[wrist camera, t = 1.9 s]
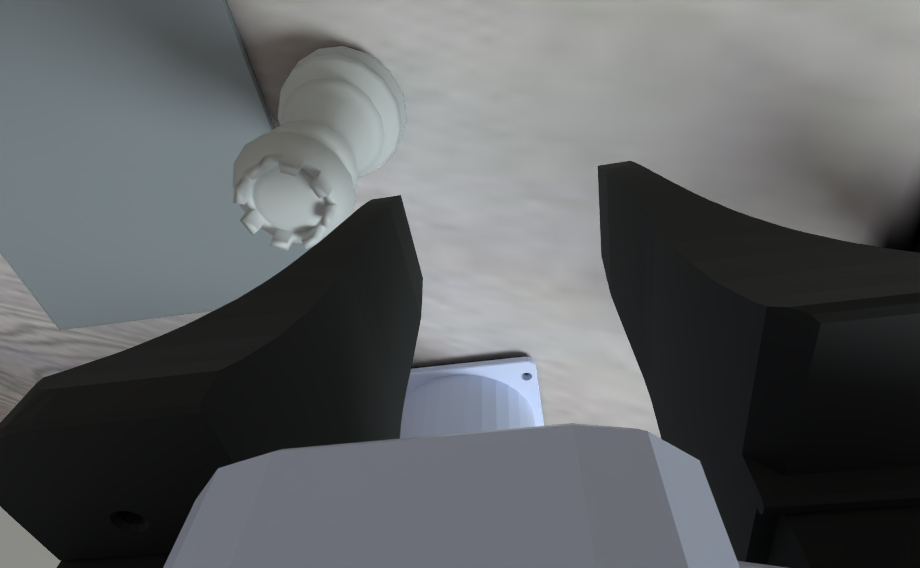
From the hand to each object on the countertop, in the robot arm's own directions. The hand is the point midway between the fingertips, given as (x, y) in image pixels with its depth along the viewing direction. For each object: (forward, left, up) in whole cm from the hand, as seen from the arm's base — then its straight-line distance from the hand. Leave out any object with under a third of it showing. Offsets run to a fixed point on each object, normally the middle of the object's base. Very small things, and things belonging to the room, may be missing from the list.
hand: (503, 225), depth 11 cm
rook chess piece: (0, +6, -11) cm, 12 cm away
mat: (0, +16, -10) cm, 19 cm away
